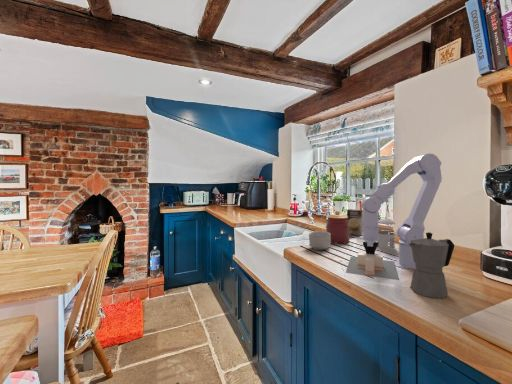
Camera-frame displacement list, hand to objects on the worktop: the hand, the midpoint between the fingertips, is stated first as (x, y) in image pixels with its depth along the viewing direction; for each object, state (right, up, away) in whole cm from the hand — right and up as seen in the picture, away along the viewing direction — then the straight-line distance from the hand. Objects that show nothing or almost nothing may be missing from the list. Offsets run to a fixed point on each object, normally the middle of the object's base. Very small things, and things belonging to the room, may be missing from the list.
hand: (370, 260), depth 100 cm
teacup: (-14, -1, +26) cm, 30 cm away
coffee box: (+18, 0, +60) cm, 62 cm away
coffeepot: (+7, -3, -26) cm, 27 cm away
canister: (0, -1, +41) cm, 41 cm away
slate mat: (-1, -2, -4) cm, 5 cm away
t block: (-3, -1, -5) cm, 6 cm away
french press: (+19, -1, +23) cm, 29 cm away
